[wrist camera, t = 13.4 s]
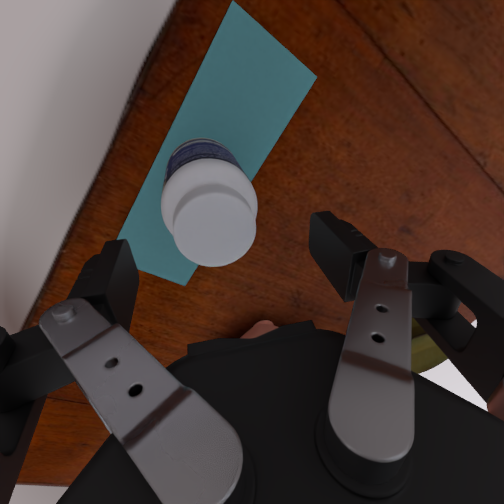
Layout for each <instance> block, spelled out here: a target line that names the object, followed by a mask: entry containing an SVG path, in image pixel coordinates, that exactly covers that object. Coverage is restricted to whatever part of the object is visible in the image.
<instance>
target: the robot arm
mask: <svg viewBox="0 0 504 504" xmlns="http://www.w3.org/2000/svg"><path fill="white" fill-rule="evenodd" d="M309 250H310V253H311V256H312V257H313V259H314V260H315V261H316V263H317V264H318V266H319V267H320V268H321V270H322V271H323V273H324V274H325V275H326V277H327V278H328V280H329V281H330V282H331V284H332V285H333V287H334V288H335V289H336V291H337V292H338V294H339V295H340V297H341V298H342V299H343V301H344V302H348V301H353V300H355V301H354V305H353V309H352V313H351V317H350V321H349V325H348V329H347V333H346V336H345V335H343V334H340V333H337V332H334V331H329V330H322V329H316V328H315V326H314V324H313V322H312V320H309V321H304V322H299V323H294V324H289V325H284V326H281V327H278V328H276V329H274V330H272V331H269V332H267V333H265V334H262V335H260V336H258V337H255V338H250V339H248V338H218V339H213V340H208V341H203V342H198V343H193V344H187V345H188V355H186V356H184V357H182V358H180V359H178V360H177V361H175V362H173V363H172V364H170V365H169V366H168V367H166V368H164V367H163V366H162V365H161V364H160V363H159V362H158V361H157V360H156V359H155V358H154V357H153V356H152V355H151V354H150V353H149V352H148V351H147V350H146V349H145V348H144V347H143V346H142V345H141V344H139V343H138V342H137V341H136V340H135V339H134V338H133V337H132V336H131V335H130V334H129V329H130V324H131V320H132V315H133V310H134V305H135V300H136V296H137V291H138V286H139V274H138V269H137V266H136V263H135V260H134V257H133V254H132V251H131V248H130V245H129V243H128V241H127V239H119V240H112V241H106V242H105V245H104V247H103V249H102V251H101V253H100V254H97V255H94V256H93V257H92V258H90V259H89V260H88V261H87V262H86V263H85V264H84V266H83V268H82V270H81V273H80V274H79V276H78V280H76V282H75V284H74V286H73V288H72V290H71V292H70V293H69V295H68V297H67V299H66V300H64V301H61V302H59V303H57V304H55V305H53V306H52V307H50V308H49V309H48V310H46V311H45V312H44V313H43V314H42V316H41V317H40V319H39V325H37V326H34V327H32V328H29V329H26V330H23V331H21V332H18V333H15V334H12V335H9V334H8V332H6V330H5V328H3V327H1V326H0V504H9V501H10V498H11V496H12V492H13V490H14V487H15V484H16V482H17V479H18V476H19V473H20V470H21V468H22V465H23V462H24V459H25V456H26V454H27V451H28V448H29V445H30V442H31V439H32V437H33V434H34V431H35V428H36V425H37V423H38V420H39V417H40V414H41V411H42V409H43V406H44V403H45V400H46V397H47V395H48V393H50V392H52V391H55V390H57V389H59V388H61V387H63V386H65V385H68V384H70V383H72V382H74V381H75V382H76V383H77V385H78V386H79V388H80V389H81V391H82V392H83V394H84V395H85V396H86V398H87V399H88V401H89V402H90V404H91V405H92V407H93V408H94V410H95V411H96V413H97V414H98V416H99V417H100V419H101V420H102V422H103V423H104V425H105V426H106V428H107V429H108V431H109V432H110V436H109V437H108V438H107V440H106V441H105V442H104V443H103V445H102V446H101V447H100V448H99V450H98V451H97V452H96V453H95V455H94V456H93V457H92V459H91V460H90V461H89V462H88V464H87V465H86V466H85V467H84V469H83V470H82V471H81V473H80V474H79V475H78V476H77V478H76V479H75V480H74V481H73V483H72V484H71V485H70V486H69V488H68V489H67V490H66V492H65V493H64V494H63V495H62V497H61V498H60V499H59V500H58V502H57V503H56V504H504V280H503V279H501V278H500V277H498V276H497V275H495V274H494V273H492V272H491V271H490V270H488V269H487V268H485V267H484V266H482V265H481V264H479V263H478V262H477V261H475V260H474V259H472V258H471V257H469V256H467V255H465V254H462V253H460V252H456V251H451V250H438V251H435V252H433V253H432V254H431V257H430V259H429V262H410V261H408V259H407V257H406V256H405V255H404V254H402V253H400V252H398V251H396V250H393V249H388V248H378V247H377V246H375V245H374V244H373V243H372V242H371V241H370V240H369V239H368V238H366V237H365V236H364V235H363V234H362V233H361V232H360V231H358V230H357V229H356V228H355V227H354V226H353V225H352V224H350V223H348V222H346V221H343V220H339V219H338V218H337V217H336V216H334V215H333V214H332V213H331V212H330V211H323V212H316V213H312V214H311V218H310V232H309ZM461 302H462V303H463V304H464V305H466V306H467V307H468V308H469V309H470V310H471V311H472V312H473V313H474V315H475V316H476V319H477V327H476V328H475V327H474V326H472V325H471V324H470V323H469V322H468V321H467V320H466V319H465V318H464V317H463V316H462V315H461V314H460V313H459V312H458V311H457V310H458V308H459V305H460V303H461ZM412 317H413V318H414V319H415V320H416V321H417V323H418V324H419V325H420V326H421V327H422V328H423V330H424V331H425V332H426V333H427V334H428V335H429V337H430V338H431V339H432V340H433V341H434V342H435V344H436V345H437V346H438V347H439V348H440V349H441V351H442V352H443V353H444V354H445V355H446V356H447V358H448V359H449V360H450V361H451V362H452V363H453V365H454V366H455V367H456V368H457V369H458V370H459V372H460V373H461V374H462V375H463V376H464V377H465V378H466V380H467V381H468V382H469V383H470V384H471V386H472V387H473V388H474V389H475V390H476V391H477V392H478V394H479V395H480V396H481V397H482V398H483V399H484V401H485V402H486V403H487V409H488V412H487V411H485V410H484V409H482V408H480V407H478V406H476V405H474V404H472V403H471V402H469V401H467V400H465V399H463V398H461V397H459V396H458V395H456V394H454V393H452V392H450V391H448V390H447V389H445V388H443V387H441V386H439V385H437V384H435V383H434V382H432V381H430V380H428V379H426V378H424V377H422V376H421V375H419V374H417V373H415V372H413V371H411V330H412Z"/></svg>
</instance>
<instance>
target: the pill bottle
mask: <svg viewBox="0 0 504 504" xmlns="http://www.w3.org/2000/svg"><path fill="white" fill-rule="evenodd" d="M161 213H162V217H163V220H164V223H165V225H166V227H167V229H168V230H169V231H170V233H171V234H172V235H173V237H174V241H175V243H176V246H177V247H178V249H179V251H180V252H181V253H182V254H183V255H184V256H185V257H186V258H187V259H189V260H191V261H192V262H194V263H196V264H199V265H203V266H209V267H216V266H223V265H227V264H230V263H232V262H234V261H236V260H238V259H239V258H241V257H242V256H243V255H244V254H245V253H246V252H247V251H248V250H249V248H250V247H251V245H252V243H253V241H254V238H255V234H256V222H255V219H256V215H257V197H256V193H255V191H254V188H253V186H252V184H251V182H250V181H249V179H248V177H247V175H246V174H245V173H244V171H243V170H242V168H241V167H240V165H239V163H238V162H237V160H236V159H235V157H234V156H233V154H232V153H231V151H230V150H229V149H228V148H226V147H225V146H224V145H223V144H221V143H220V142H218V141H215V140H213V139H209V138H194V139H190V140H187V141H185V142H183V143H182V144H180V145H179V146H178V147H177V148H176V149H175V150H174V151H173V153H172V154H171V156H170V158H169V160H168V163H167V167H166V172H165V178H164V182H163V190H162V196H161Z"/></svg>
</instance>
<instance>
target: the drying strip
mask: <svg viewBox="0 0 504 504" xmlns="http://www.w3.org/2000/svg"><path fill="white" fill-rule="evenodd" d="M316 78H317V76H316V75H315V74H313V73H312V72H311V71H310V70H309V69H308V68H307V67H306V66H305V65H304V64H302V63H301V62H300V61H299V60H298V59H297V58H296V57H295V56H294V55H293V54H291V53H290V52H289V51H288V50H287V49H286V48H285V47H284V46H283V45H282V44H281V43H279V42H278V41H277V40H276V39H275V38H274V37H273V36H272V35H271V34H270V33H268V32H267V31H266V30H265V29H264V28H263V27H262V26H261V25H260V24H259V23H257V22H256V21H255V20H254V19H253V18H252V17H251V16H250V15H249V14H248V13H247V12H245V11H244V10H243V9H242V8H241V7H240V6H239V5H238V4H237V3H236V2H234V1H232V2H231V4H230V6H229V8H228V10H227V12H226V15H225V17H224V19H223V21H222V23H221V25H220V27H219V29H218V31H217V33H216V35H215V37H214V39H213V41H212V43H211V45H210V48H209V50H208V52H207V54H206V56H205V58H204V60H203V62H202V64H201V66H200V68H199V70H198V72H197V74H196V76H195V78H194V81H193V83H192V85H191V87H190V89H189V91H188V93H187V95H186V97H185V99H184V101H183V103H182V105H181V107H180V109H179V111H178V114H177V116H176V118H175V120H174V122H173V124H172V126H171V128H170V130H169V132H168V134H167V136H166V138H165V140H164V142H163V144H162V147H161V149H160V151H159V153H158V155H157V157H156V159H155V161H154V163H153V165H152V167H151V169H150V171H149V173H148V175H147V177H146V180H145V182H144V184H143V186H142V188H141V190H140V192H139V194H138V196H137V198H136V200H135V202H134V204H133V206H132V208H131V210H130V213H129V215H128V217H127V219H126V221H125V223H124V225H123V227H122V229H121V231H120V233H119V235H118V237H117V239H116V240H119V239H127V241H128V243H129V245H130V248H131V251H132V254H133V257H134V260H135V263H136V266H137V269H139V270H142V271H145V272H147V273H150V274H153V275H156V276H158V277H161V278H164V279H167V280H170V281H172V282H175V283H178V284H181V285H184V286H185V285H186V284H187V282H188V281H189V279H190V277H191V276H192V274H193V273H194V271H195V269H196V268H197V266H198V265H199V264H196V263H194V262H192V261H191V260H189V259H187V258H186V257H185V256H184V255H183V254H182V253H181V252H180V251H179V249H178V247H177V246H176V243H175V241H174V237H173V235H172V234H171V233H170V231H169V230H168V229H167V227H166V225H165V223H164V220H163V217H162V213H161V196H162V190H163V182H164V178H165V172H166V167H167V163H168V160H169V158H170V156H171V154H172V153H173V151H174V150H175V149H176V148H177V147H178V146H179V145H180V144H182V143H183V142H185V141H187V140H190V139H194V138H209V139H213V140H215V141H218V142H220V143H221V144H223V145H224V146H225V147H226V148H228V149H229V150H230V151H231V153H232V154H233V156H234V157H235V159H236V160H237V162H238V163H239V165H240V167H241V168H242V170H243V171H244V173H245V174H246V175H247V177H248V179H249V181H250V182H251V181H252V179H253V178H254V176H255V175H256V173H257V172H258V170H259V168H260V167H261V165H262V164H263V162H264V160H265V159H266V157H267V156H268V154H269V153H270V151H271V149H272V148H273V146H274V145H275V143H276V142H277V140H278V138H279V137H280V135H281V134H282V132H283V130H284V129H285V127H286V126H287V124H288V123H289V121H290V119H291V118H292V116H293V115H294V113H295V111H296V110H297V108H298V107H299V105H300V104H301V102H302V100H303V99H304V97H305V96H306V94H307V93H308V91H309V89H310V88H311V86H312V85H313V83H314V81H315V80H316Z"/></svg>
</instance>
